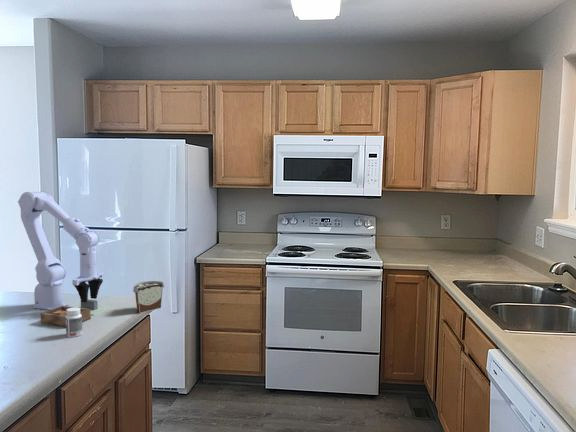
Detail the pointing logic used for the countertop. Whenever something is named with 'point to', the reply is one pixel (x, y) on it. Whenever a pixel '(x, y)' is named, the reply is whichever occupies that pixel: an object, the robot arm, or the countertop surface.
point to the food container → (148, 295)
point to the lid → (94, 307)
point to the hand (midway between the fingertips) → (89, 300)
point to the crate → (62, 316)
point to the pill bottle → (73, 322)
